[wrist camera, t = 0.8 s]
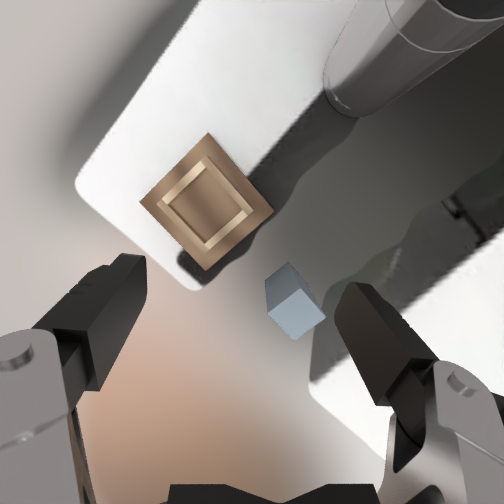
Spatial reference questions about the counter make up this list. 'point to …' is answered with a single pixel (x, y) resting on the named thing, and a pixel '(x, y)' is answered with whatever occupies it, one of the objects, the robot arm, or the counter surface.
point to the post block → (292, 302)
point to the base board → (207, 203)
